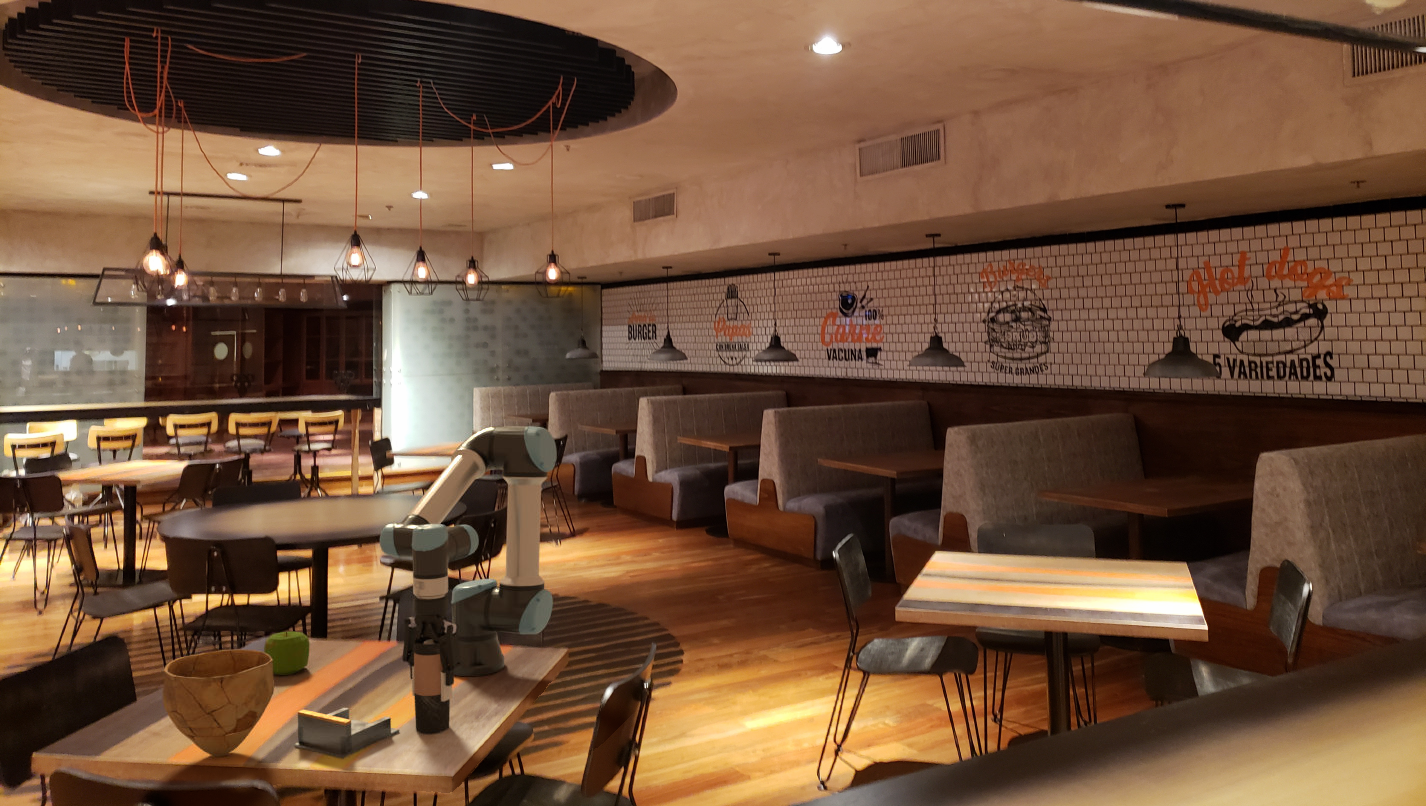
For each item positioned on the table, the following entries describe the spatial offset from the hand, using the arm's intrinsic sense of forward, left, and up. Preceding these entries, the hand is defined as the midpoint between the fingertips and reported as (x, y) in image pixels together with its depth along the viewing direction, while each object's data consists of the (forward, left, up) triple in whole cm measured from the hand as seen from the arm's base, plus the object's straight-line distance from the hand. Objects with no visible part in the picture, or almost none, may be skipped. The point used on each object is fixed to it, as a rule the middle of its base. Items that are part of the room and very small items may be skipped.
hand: (432, 696), depth 217 cm
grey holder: (+13, -12, -7) cm, 19 cm away
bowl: (+31, -29, -7) cm, 43 cm away
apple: (-14, -63, -7) cm, 65 cm away
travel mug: (0, 0, -7) cm, 7 cm away
